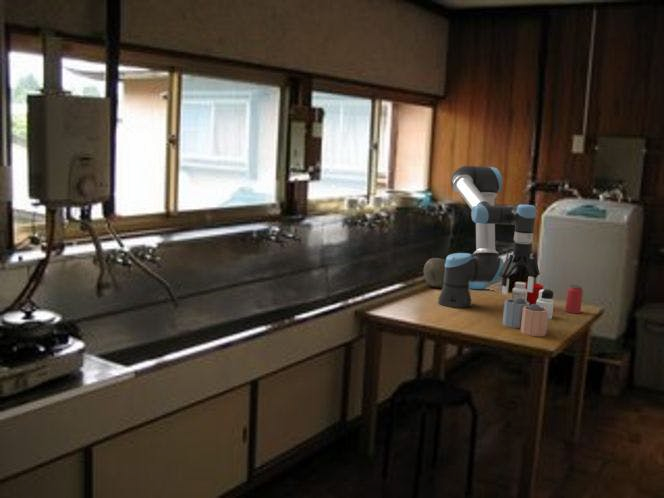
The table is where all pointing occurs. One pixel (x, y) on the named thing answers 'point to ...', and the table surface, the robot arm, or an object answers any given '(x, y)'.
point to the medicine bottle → (546, 301)
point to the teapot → (478, 285)
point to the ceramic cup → (533, 296)
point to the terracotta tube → (534, 322)
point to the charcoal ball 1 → (519, 301)
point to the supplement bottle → (519, 291)
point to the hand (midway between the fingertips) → (517, 292)
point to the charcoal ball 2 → (534, 307)
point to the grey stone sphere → (435, 272)
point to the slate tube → (513, 313)
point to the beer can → (574, 299)
